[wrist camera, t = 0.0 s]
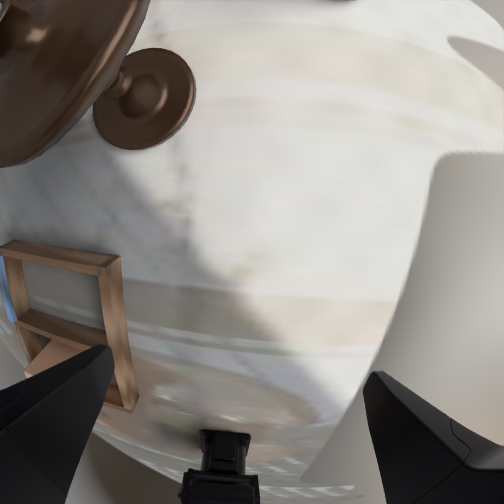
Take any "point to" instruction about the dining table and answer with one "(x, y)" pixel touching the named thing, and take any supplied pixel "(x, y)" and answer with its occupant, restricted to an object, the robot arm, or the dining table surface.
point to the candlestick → (85, 77)
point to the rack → (33, 322)
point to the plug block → (51, 357)
